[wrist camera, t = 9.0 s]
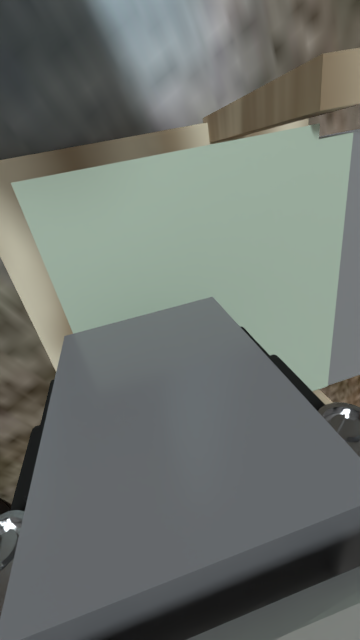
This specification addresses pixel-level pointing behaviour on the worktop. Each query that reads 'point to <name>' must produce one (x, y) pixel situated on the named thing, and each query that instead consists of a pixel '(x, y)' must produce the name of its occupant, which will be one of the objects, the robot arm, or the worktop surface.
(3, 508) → the container
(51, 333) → the frame
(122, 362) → the basalt block
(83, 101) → the worktop surface
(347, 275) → the trapdoor
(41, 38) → the worktop surface
